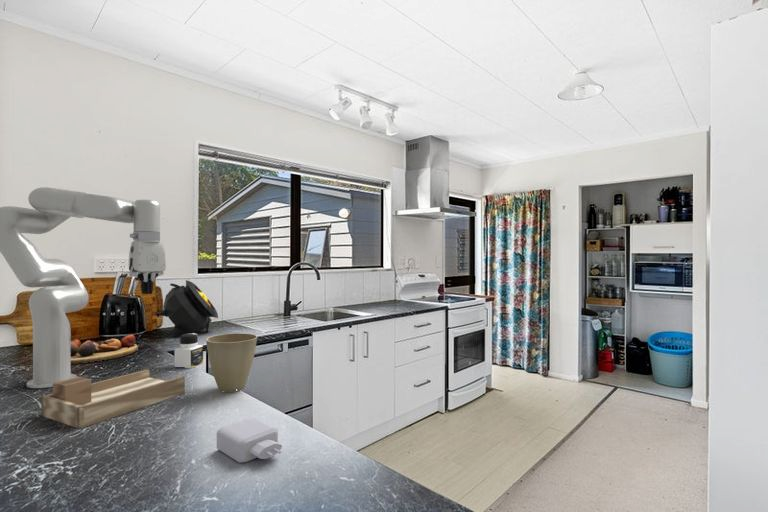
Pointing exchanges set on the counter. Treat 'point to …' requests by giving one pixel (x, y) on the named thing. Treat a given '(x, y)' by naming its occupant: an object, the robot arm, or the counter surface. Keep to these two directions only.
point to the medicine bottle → (189, 351)
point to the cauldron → (188, 308)
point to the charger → (248, 440)
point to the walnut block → (73, 390)
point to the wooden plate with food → (101, 349)
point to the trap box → (113, 399)
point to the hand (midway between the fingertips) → (147, 293)
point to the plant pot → (231, 359)
